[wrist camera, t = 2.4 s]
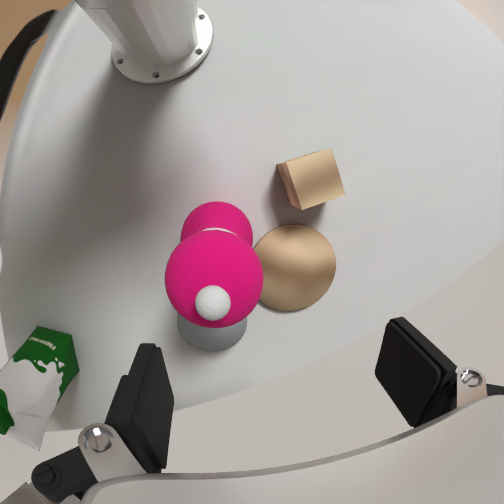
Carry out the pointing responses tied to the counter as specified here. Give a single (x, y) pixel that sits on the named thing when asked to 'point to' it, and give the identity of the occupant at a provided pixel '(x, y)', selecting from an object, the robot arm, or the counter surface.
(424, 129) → the counter surface
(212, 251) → the pepper mill
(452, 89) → the counter surface
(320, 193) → the oak block
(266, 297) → the cork trivet
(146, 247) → the counter surface
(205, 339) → the grey rounded dome
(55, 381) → the milk carton
